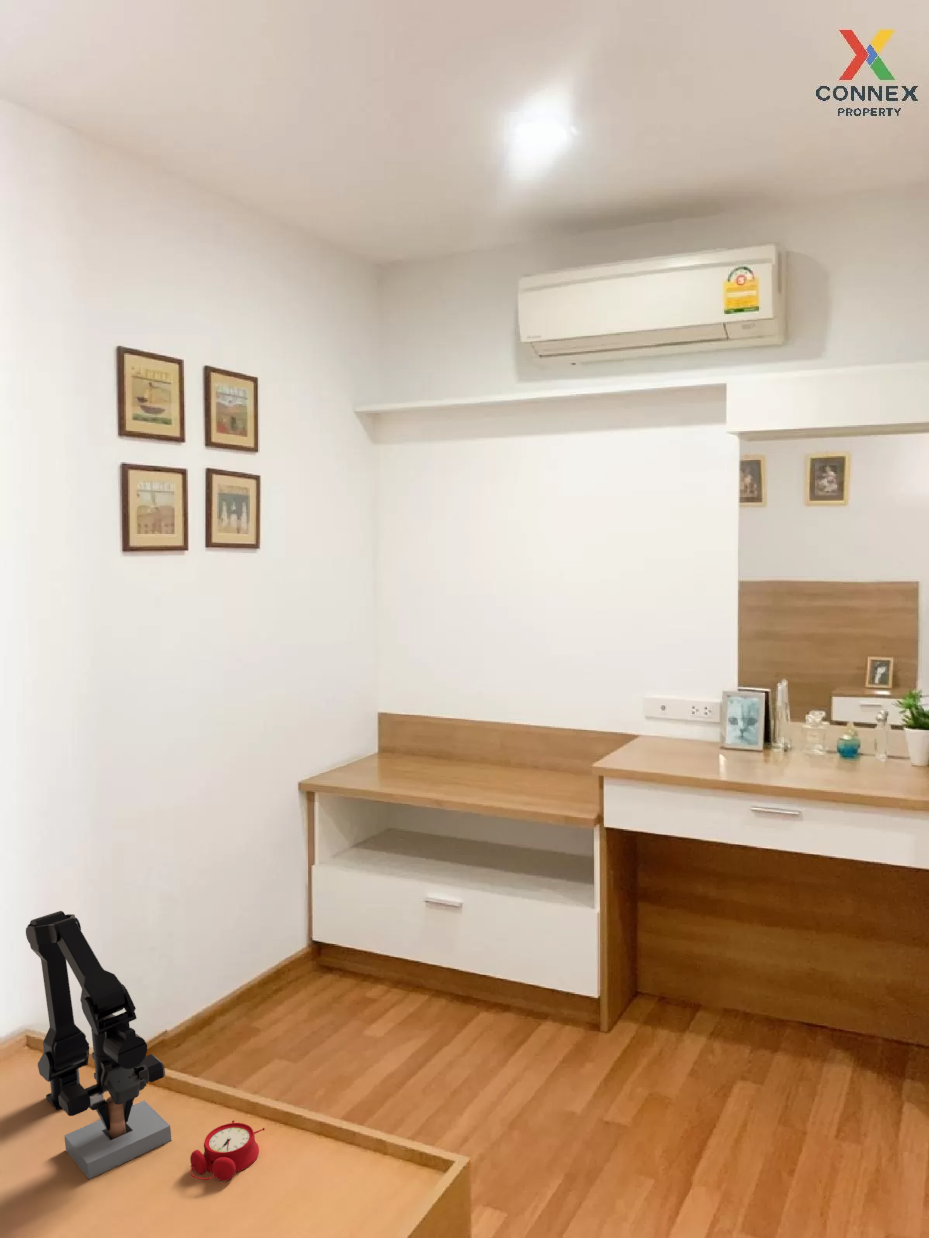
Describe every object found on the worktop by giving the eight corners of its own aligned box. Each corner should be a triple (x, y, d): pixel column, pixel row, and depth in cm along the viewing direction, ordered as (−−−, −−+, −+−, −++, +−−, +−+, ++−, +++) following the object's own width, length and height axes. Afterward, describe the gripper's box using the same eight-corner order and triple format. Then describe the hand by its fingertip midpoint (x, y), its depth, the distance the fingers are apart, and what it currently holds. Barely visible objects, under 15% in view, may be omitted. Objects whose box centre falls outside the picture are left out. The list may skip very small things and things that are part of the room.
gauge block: (65, 1149, 193) (64, 1135, 193) (145, 1113, 204) (144, 1100, 203) (89, 1178, 184) (87, 1163, 184) (171, 1139, 194) (170, 1125, 194)
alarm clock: (272, 1125, 192) (223, 1155, 178) (270, 1159, 191) (221, 1192, 178) (227, 1114, 196) (176, 1142, 182) (225, 1148, 195) (174, 1179, 182)
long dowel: (107, 1138, 194) (103, 1099, 193) (122, 1131, 196) (118, 1092, 195) (113, 1145, 192) (109, 1105, 191) (128, 1138, 194) (125, 1098, 193)
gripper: (75, 1085, 180) (83, 1167, 181) (174, 1045, 192) (180, 1122, 193) (53, 1061, 188) (61, 1139, 190) (149, 1024, 200) (156, 1098, 202)
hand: (116, 1125), depth 193 cm, fingers open, 3 cm apart
